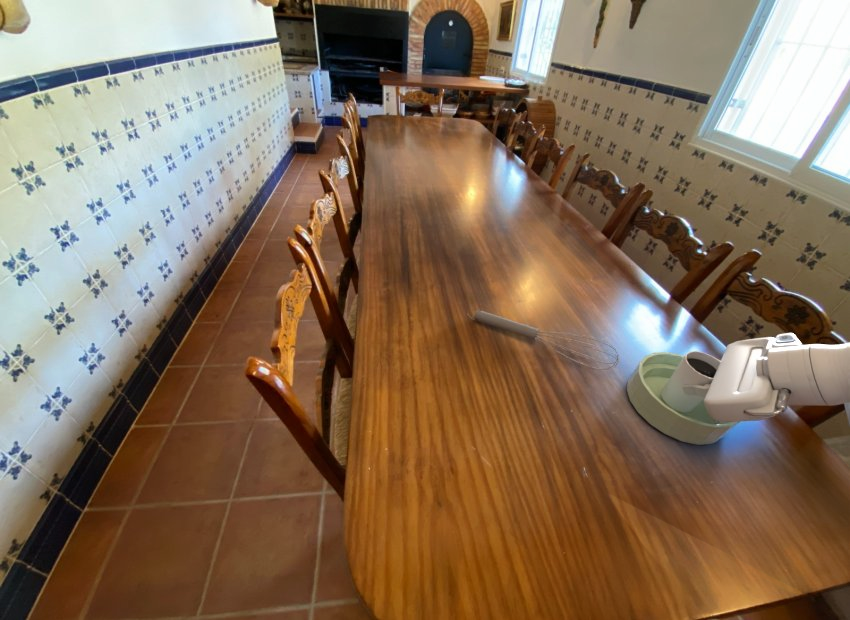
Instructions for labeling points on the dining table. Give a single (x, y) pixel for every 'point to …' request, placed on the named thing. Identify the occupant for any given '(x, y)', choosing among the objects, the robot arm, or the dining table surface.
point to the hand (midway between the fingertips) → (688, 380)
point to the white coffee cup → (689, 380)
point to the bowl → (654, 409)
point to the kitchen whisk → (532, 333)
